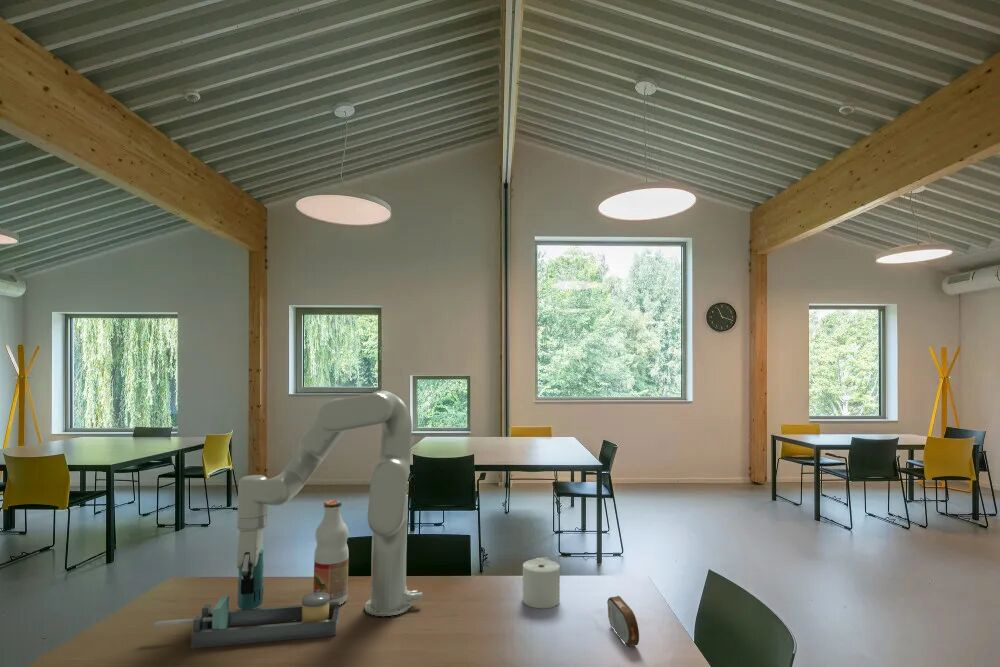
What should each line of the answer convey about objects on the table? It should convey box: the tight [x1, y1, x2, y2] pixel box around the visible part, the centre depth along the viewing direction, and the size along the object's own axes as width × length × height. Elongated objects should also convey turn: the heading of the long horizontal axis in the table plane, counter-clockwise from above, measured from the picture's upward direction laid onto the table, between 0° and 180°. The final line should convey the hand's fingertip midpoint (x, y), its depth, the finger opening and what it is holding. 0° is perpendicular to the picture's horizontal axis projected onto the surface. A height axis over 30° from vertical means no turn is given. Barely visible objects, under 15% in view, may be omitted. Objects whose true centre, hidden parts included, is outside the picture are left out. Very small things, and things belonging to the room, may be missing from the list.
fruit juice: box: [312, 499, 349, 606], centre depth 160 cm, size 9×9×28 cm
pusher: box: [153, 594, 230, 629], centre depth 138 cm, size 16×8×8 cm, turn 102°
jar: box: [301, 592, 330, 622], centre depth 144 cm, size 7×7×8 cm
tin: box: [606, 595, 640, 647], centre depth 140 cm, size 15×3×8 cm, turn 9°
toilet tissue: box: [522, 556, 561, 609], centre depth 161 cm, size 11×12×10 cm
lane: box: [190, 602, 340, 649], centre depth 142 cm, size 33×11×6 cm, turn 102°
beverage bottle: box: [236, 548, 265, 610], centre depth 153 cm, size 6×7×20 cm
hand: (250, 588), depth 153 cm, fingers closed on beverage bottle, 5 cm apart
